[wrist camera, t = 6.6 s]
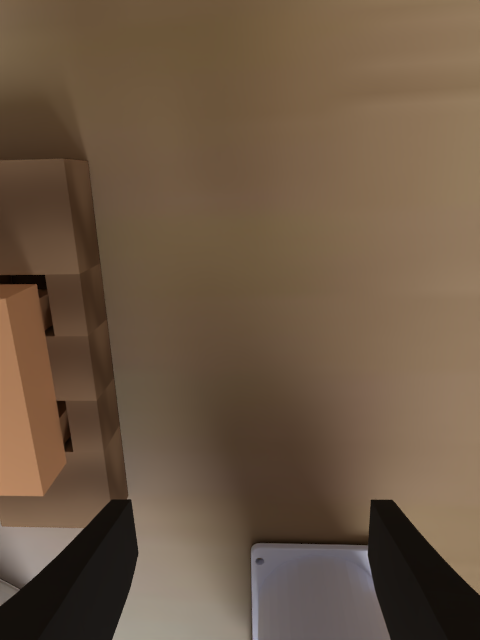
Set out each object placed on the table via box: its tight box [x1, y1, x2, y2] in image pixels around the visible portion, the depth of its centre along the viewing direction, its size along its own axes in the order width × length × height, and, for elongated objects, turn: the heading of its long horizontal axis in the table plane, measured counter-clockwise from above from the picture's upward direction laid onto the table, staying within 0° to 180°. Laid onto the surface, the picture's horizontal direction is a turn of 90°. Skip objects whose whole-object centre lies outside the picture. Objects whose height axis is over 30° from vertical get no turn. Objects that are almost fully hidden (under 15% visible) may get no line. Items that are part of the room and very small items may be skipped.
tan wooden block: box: [0, 284, 71, 496], centre depth 20 cm, size 9×2×5 cm, turn 1°
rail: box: [0, 159, 128, 528], centre depth 21 cm, size 18×6×2 cm, turn 1°
